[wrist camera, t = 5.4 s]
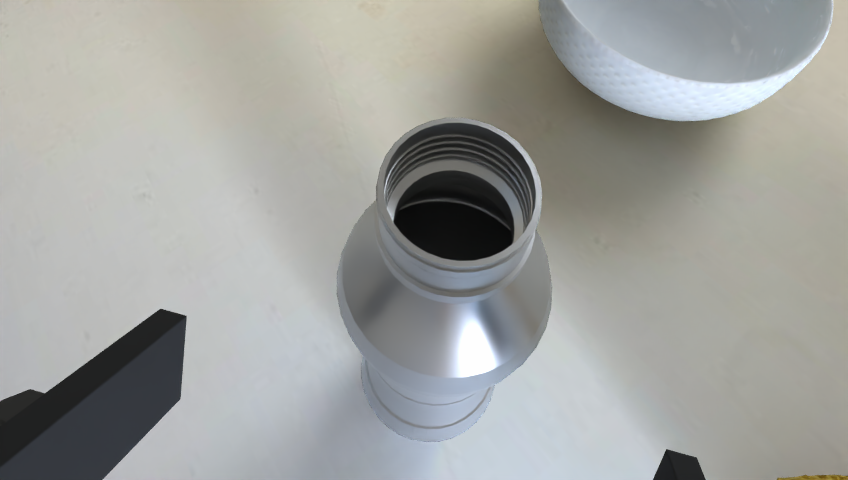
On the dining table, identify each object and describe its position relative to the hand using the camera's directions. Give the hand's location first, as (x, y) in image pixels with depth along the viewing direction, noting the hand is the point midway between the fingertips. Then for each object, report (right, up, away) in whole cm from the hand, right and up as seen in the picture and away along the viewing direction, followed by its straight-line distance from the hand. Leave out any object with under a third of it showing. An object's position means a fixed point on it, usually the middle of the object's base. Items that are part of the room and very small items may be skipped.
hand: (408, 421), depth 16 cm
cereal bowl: (+16, +17, +25) cm, 34 cm away
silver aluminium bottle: (+1, -3, +15) cm, 15 cm away
